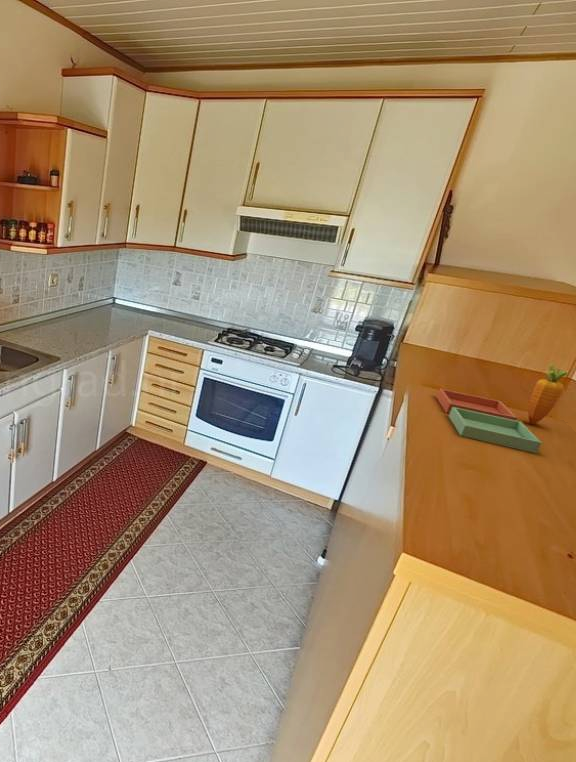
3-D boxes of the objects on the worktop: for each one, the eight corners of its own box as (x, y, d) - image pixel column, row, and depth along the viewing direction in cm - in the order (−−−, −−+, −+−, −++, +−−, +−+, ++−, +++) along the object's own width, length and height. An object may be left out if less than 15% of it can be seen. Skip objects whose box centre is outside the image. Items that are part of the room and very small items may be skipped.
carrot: (549, 430, 117) (578, 371, 111) (524, 425, 118) (551, 367, 113) (538, 423, 121) (566, 366, 116) (514, 418, 123) (540, 361, 117)
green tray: (516, 431, 114) (521, 421, 113) (536, 453, 103) (542, 442, 102) (448, 416, 119) (452, 406, 118) (460, 435, 108) (465, 425, 107)
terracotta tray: (496, 410, 127) (500, 401, 126) (512, 427, 116) (517, 417, 115) (436, 397, 133) (439, 388, 132) (446, 412, 122) (450, 403, 121)
